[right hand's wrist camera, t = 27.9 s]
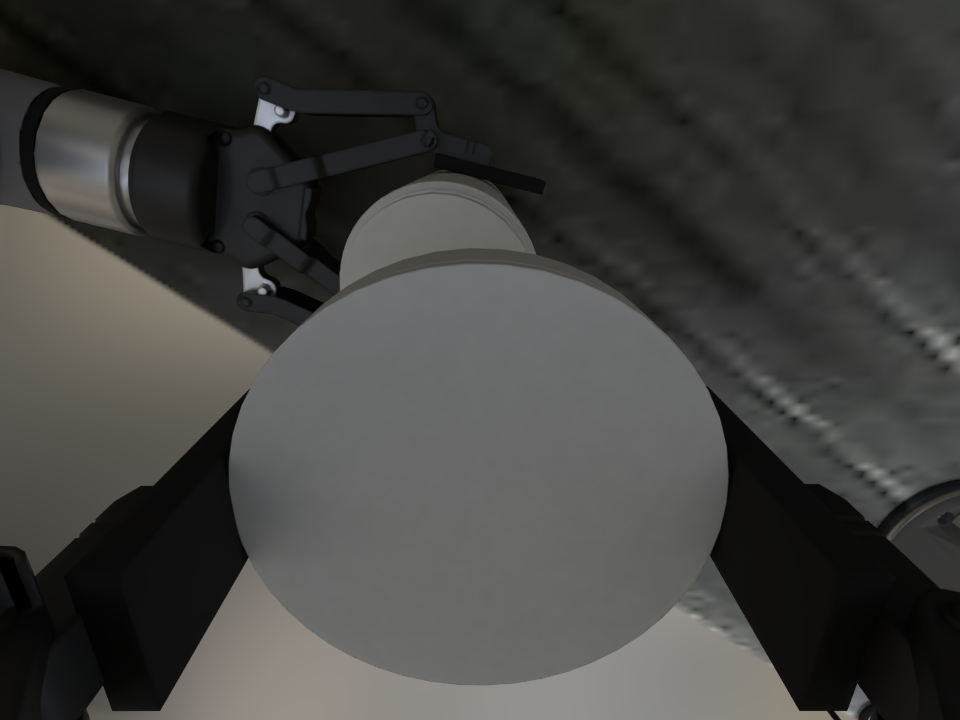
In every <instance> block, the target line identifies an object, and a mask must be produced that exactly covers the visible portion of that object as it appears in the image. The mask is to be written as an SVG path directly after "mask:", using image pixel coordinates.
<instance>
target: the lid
mask: <svg viewBox="0 0 960 720" xmlns="http://www.w3.org/2000/svg"><path fill="white" fill-rule="evenodd" d="M728 479H729V471H728V458H727V446H726V442H725V437H724V433H723V429H722V425H721V421H720V417H719V415H718V412H717V410H716V408H715V405H714V403H713V401H712V398H711V396H710V393H709V391H708V389H707V387H706V386H705V384H704V383H703V381H702V379H701V378H700V376H699V374H698V373H697V371H696V370H695V368H694V366H693V365H692V363H691V362H690V361H689V360H688V359H687V357H686V356H685V355H684V354H683V353H682V352H681V350H680V349H679V348H678V347H677V346H676V345H675V343H674V342H673V341H672V340H671V339H670V338H669V337H668V336H667V335H666V334H665V333H664V332H663V331H662V330H661V329H660V328H659V327H658V326H657V325H656V324H655V323H654V322H652V321H651V320H650V319H649V318H648V317H647V316H646V315H645V314H644V313H643V312H642V311H641V310H639V309H638V308H637V307H636V306H635V305H634V304H632V303H631V302H630V301H629V300H628V299H627V298H626V297H624V296H623V295H622V294H621V293H619V292H618V291H616V290H615V289H613V288H611V287H610V286H608V285H607V284H605V283H604V282H602V281H600V280H599V279H597V278H596V277H594V276H592V275H589V274H587V273H585V272H583V271H581V270H579V269H576V268H574V267H572V266H570V265H568V264H565V263H562V262H559V261H555V260H552V259H549V258H545V257H542V256H539V255H536V254H530V253H524V252H517V251H511V250H505V249H483V248H465V249H456V250H446V251H436V252H432V253H428V254H424V255H420V256H416V257H411V258H407V259H404V260H401V261H398V262H396V263H393V264H391V265H388V266H386V267H383V268H380V269H378V270H375V271H373V272H371V273H370V274H368V275H366V276H364V277H362V278H361V279H359V280H357V281H355V282H353V283H352V284H350V285H348V286H346V287H345V288H344V289H342V290H341V291H340V292H339V293H337V294H336V295H335V296H333V297H332V298H331V299H329V300H328V301H327V302H325V303H324V304H323V305H322V306H321V307H320V308H318V309H317V310H316V311H315V312H314V313H313V314H312V315H311V316H310V317H309V318H308V319H307V320H306V321H305V322H304V323H303V324H301V325H300V326H299V327H298V328H297V329H296V330H295V331H294V332H293V333H292V334H291V335H290V336H289V337H288V338H287V339H286V340H285V341H284V342H283V344H282V345H281V346H280V347H279V348H278V349H277V350H276V351H275V352H274V353H273V354H272V356H271V357H270V359H269V360H268V361H267V363H266V364H265V366H264V367H263V368H262V370H261V371H260V373H259V374H258V375H257V377H256V378H255V380H254V382H253V384H252V386H251V388H250V390H249V392H248V394H247V396H246V398H245V400H244V402H243V404H242V406H241V409H240V413H239V416H238V419H237V422H236V425H235V428H234V431H233V436H232V443H231V449H230V456H229V490H230V495H231V500H232V505H233V511H234V515H235V520H236V525H237V529H238V533H239V536H240V539H241V542H242V545H243V547H244V549H245V551H246V553H247V555H248V557H249V559H250V561H251V563H252V565H253V567H254V568H255V570H256V571H257V573H258V574H259V576H260V577H261V579H262V580H263V582H264V583H265V585H266V586H267V588H268V589H269V591H270V592H271V593H272V594H273V595H274V596H275V597H276V598H277V600H278V601H279V602H280V603H281V604H282V605H283V606H284V608H285V609H286V610H287V611H288V612H290V613H291V614H292V615H293V616H294V617H295V618H296V619H297V620H298V621H300V622H301V623H302V624H303V625H304V626H305V627H306V628H307V629H309V630H310V631H312V632H313V633H315V634H316V635H317V636H319V637H320V638H322V639H323V640H325V641H326V642H327V643H329V644H331V645H332V646H334V647H336V648H338V649H339V650H341V651H343V652H345V653H347V654H348V655H350V656H352V657H354V658H356V659H359V660H361V661H364V662H366V663H368V664H371V665H373V666H375V667H378V668H381V669H384V670H387V671H390V672H393V673H396V674H400V675H403V676H407V677H412V678H416V679H421V680H426V681H431V682H439V683H447V684H456V685H498V684H512V683H519V682H525V681H531V680H537V679H542V678H546V677H550V676H553V675H557V674H561V673H565V672H568V671H571V670H574V669H576V668H579V667H581V666H584V665H587V664H589V663H592V662H594V661H596V660H598V659H600V658H602V657H604V656H607V655H609V654H611V653H612V652H615V651H616V650H618V649H620V648H622V647H623V646H625V645H626V644H628V643H629V642H631V641H633V640H634V639H636V638H637V637H639V636H640V635H642V634H643V633H644V632H645V631H647V630H648V629H649V628H650V627H652V626H653V625H654V624H655V623H657V622H658V621H659V620H660V619H662V618H663V617H664V616H665V615H666V614H667V613H668V611H669V610H670V609H671V608H672V607H673V606H674V605H675V604H676V603H677V602H678V601H679V600H680V599H681V598H682V597H683V595H684V594H685V593H686V591H687V590H688V589H689V588H690V586H691V585H692V584H693V582H694V581H695V580H696V578H697V577H698V575H699V573H700V572H701V570H702V568H703V566H704V565H705V563H706V561H707V559H708V558H709V556H710V554H711V551H712V549H713V546H714V544H715V541H716V539H717V536H718V534H719V531H720V529H721V524H722V520H723V516H724V512H725V507H726V503H727V492H728Z"/></svg>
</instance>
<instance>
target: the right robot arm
mask: <svg viewBox="0 0 960 720" xmlns="http://www.w3.org/2000/svg"><path fill="white" fill-rule="evenodd" d="M706 387H707V389H708V391H709V393H710V396H711V398H712V401H713V403H714V405H715V408H716V410H717V412H718V415H719V417H720V421H721V425H722V429H723V433H724V437H725V442H726V446H727V458H728V471H729V479H728V492H727V503H726V507H725V512H724V516H723V520H722V524H721V529H720V531H719V534H718V536H717V539H716V541H715V544H714V546H713V549H712V551H711V554H710V557H711V558H712V560H713V562H714V563H715V565H716V567H717V569H718V570H719V572H720V574H721V576H722V577H723V579H724V581H725V583H726V584H727V586H728V588H729V589H730V591H731V593H732V595H733V596H734V598H735V600H736V602H737V603H738V605H739V607H740V609H741V610H742V612H743V614H744V615H745V617H746V619H747V621H748V622H749V624H750V626H751V628H752V629H753V631H754V633H755V635H756V636H757V638H758V640H759V641H760V643H761V645H762V647H763V648H764V650H765V652H766V654H767V655H768V657H769V659H770V661H771V662H772V664H773V666H774V667H775V669H776V671H777V673H778V674H779V676H780V678H781V680H782V681H783V683H784V685H785V686H786V688H787V690H788V692H789V693H790V695H791V697H792V699H793V700H794V702H795V704H796V706H797V707H798V709H799V711H827V712H828V713H829V715H830V716H831V717H832V719H833V720H841V719H840V718H839V716H838V715H837V714H836V713H835V711H847V710H848V707H849V705H850V702H851V699H852V696H853V694H854V691H855V688H856V685H857V683H858V685H859V686H860V688H861V689H862V690H863V692H864V693H865V695H866V696H867V697H868V699H869V700H870V702H871V703H872V704H870V705H868V706H867V707H865V708H864V709H863V710H862V712H861V713H860V716H859V720H868V718H869V717H870V716H871V717H870V720H960V481H954V482H950V483H946V484H943V485H940V486H937V487H934V488H932V489H929V490H927V491H925V492H923V493H921V494H919V495H917V496H915V497H913V498H912V499H910V500H909V501H907V502H906V503H904V504H903V505H902V506H900V507H899V508H898V509H897V510H895V511H894V512H893V513H892V514H891V515H890V516H889V517H888V518H887V519H886V520H885V521H884V523H883V524H882V525H881V526H880V528H879V529H878V530H877V529H876V528H875V527H874V526H873V525H872V524H871V523H870V522H869V521H865V519H864V518H865V517H864V516H863V515H861V514H860V513H859V512H858V511H857V510H856V509H855V508H854V507H853V506H852V505H851V504H850V503H849V502H848V501H847V500H845V499H844V498H842V497H840V496H839V495H837V494H835V493H833V492H832V491H830V490H828V489H826V488H825V487H823V486H821V485H820V484H804V483H803V482H802V481H801V480H800V479H799V478H798V477H797V476H796V475H795V474H794V473H793V472H792V471H791V470H790V469H789V468H788V467H787V466H786V465H785V464H784V463H783V462H782V461H781V460H780V459H779V458H778V457H777V456H776V455H775V454H774V453H773V452H772V451H771V450H770V449H769V448H768V447H767V446H766V445H765V444H764V443H763V442H762V441H761V440H760V439H759V438H758V437H757V436H756V435H755V434H754V433H753V432H752V431H751V430H750V429H749V428H748V427H747V426H746V425H745V424H744V423H743V422H742V421H741V420H740V419H739V418H738V417H737V416H736V415H735V414H734V413H733V412H732V411H731V410H730V409H729V408H728V407H727V406H726V405H725V404H724V402H723V401H722V400H721V399H720V398H719V397H718V396H717V395H716V394H715V393H714V392H713V391H712V390H711V389H710V388H709V387H708V386H706ZM249 390H250V389H249ZM249 390H248V391H247V392H246V393H245V394H244V395H243V396H242V397H241V398H240V399H239V400H238V401H237V402H236V403H235V404H234V405H233V406H232V407H231V408H230V409H229V410H228V411H227V412H226V413H225V414H224V415H223V416H222V417H221V418H220V419H219V420H218V421H217V422H216V423H215V424H214V425H213V426H212V427H211V428H210V429H209V430H208V431H207V432H206V434H204V435H203V436H202V437H201V438H200V439H199V440H198V441H197V442H196V443H195V444H194V445H193V446H192V447H191V448H190V450H188V451H187V452H186V454H184V456H183V457H182V458H181V459H180V460H179V461H178V462H177V463H176V464H175V465H174V466H173V467H172V468H171V469H170V470H169V471H168V472H167V473H166V474H165V475H164V476H163V477H162V478H161V479H160V480H159V481H158V482H157V483H156V484H155V485H154V486H140V487H138V488H137V489H135V490H133V491H132V492H130V493H128V494H126V495H125V496H123V497H121V498H119V499H118V500H116V501H114V502H113V503H112V504H111V505H110V506H109V507H108V508H107V509H106V510H105V511H104V512H103V513H102V514H101V515H100V516H99V517H98V518H96V521H95V523H91V524H90V525H89V526H88V527H87V528H86V529H85V530H84V531H83V532H82V533H81V534H80V537H79V538H75V539H74V540H73V541H72V542H71V543H70V544H69V545H68V546H67V547H66V548H65V549H64V550H62V551H61V552H60V553H59V554H58V555H57V556H56V557H55V558H54V559H53V560H52V561H51V562H50V563H49V564H48V565H47V566H46V567H44V569H42V570H41V571H40V572H39V573H38V574H37V575H36V576H34V573H33V571H32V568H31V566H30V563H29V560H28V558H27V555H26V553H25V552H24V551H23V550H21V549H19V548H17V547H15V546H0V720H90V718H89V715H88V712H87V710H86V708H87V707H88V705H89V704H90V703H91V701H92V700H93V698H94V697H95V696H96V694H97V693H98V691H99V690H100V688H101V687H102V686H104V689H105V692H106V695H107V698H108V700H109V703H110V706H111V709H112V711H160V710H161V708H162V707H163V705H164V703H165V702H166V700H167V698H168V696H169V694H170V693H171V691H172V689H173V688H174V686H175V684H176V682H177V681H178V679H179V677H180V676H181V674H182V672H183V670H184V669H185V667H186V665H187V663H188V662H189V660H190V658H191V656H192V655H193V653H194V651H195V650H196V648H197V646H198V644H199V643H200V641H201V639H202V637H203V636H204V634H205V632H206V630H207V629H208V627H209V625H210V624H211V622H212V620H213V618H214V617H215V615H216V613H217V611H218V610H219V608H220V606H221V604H222V603H223V601H224V599H225V598H226V596H227V594H228V592H229V591H230V589H231V587H232V585H233V584H234V582H235V580H236V579H237V577H238V575H239V573H240V571H241V570H242V568H243V566H244V565H245V563H246V561H247V559H248V558H249V557H248V555H247V553H246V551H245V549H244V547H243V545H242V542H241V539H240V536H239V533H238V529H237V525H236V520H235V515H234V511H233V505H232V500H231V495H230V490H229V456H230V449H231V443H232V436H233V431H234V428H235V425H236V422H237V419H238V416H239V413H240V409H241V406H242V404H243V402H244V400H245V398H246V396H247V394H248V392H249Z"/></svg>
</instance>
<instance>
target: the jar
mask: <svg viewBox="0 0 960 720" xmlns="http://www.w3.org/2000/svg"><path fill="white" fill-rule="evenodd" d="M465 248H483V249H505V250H511V251H517V252H524V253H530V254H536V253H535V250H534V247H533V244H532V242H531V240H530V238H529V236H528V234H527V232H526V230H525V229H524V227H523V226H522V224H521V222H520V221H519V219H518V218H517V216H516V215H515V213H514V211H513V210H512V208H511V207H510V205H509V204H508V202H507V200H506V199H505V197H504V196H503V195H502V193H501V192H500V191H499V190H498V188H497V187H496V186H495V185H493V184H492V183H491V182H490V181H487V180H483V179H479V178H475V177H471V176H467V175H463V174H459V173H455V172H452V171H448V170H441V171H437V172H434V173H432V174H429V175H427V176H425V177H422V178H420V179H418V180H416V181H414V182H412V183H409V184H407V185H405V186H403V187H401V188H399V189H396V190H394V191H392V192H391V193H389V194H387V195H386V196H384V197H382V198H381V199H379V200H378V201H377V202H376V203H374V204H373V205H372V206H371V207H370V208H369V209H368V210H367V211H366V212H365V213H364V214H363V215H362V216H361V217H360V219H359V220H358V222H357V223H356V225H355V226H354V227H353V229H352V231H351V233H350V235H349V237H348V239H347V242H346V245H345V248H344V251H343V255H342V260H341V268H340V291H341V290H342V289H344V288H345V287H346V286H348V285H350V284H352V283H353V282H355V281H357V280H359V279H361V278H362V277H364V276H366V275H368V274H370V273H371V272H373V271H375V270H378V269H380V268H383V267H386V266H388V265H391V264H393V263H396V262H398V261H401V260H404V259H407V258H411V257H416V256H420V255H424V254H428V253H432V252H436V251H446V250H456V249H465Z"/></svg>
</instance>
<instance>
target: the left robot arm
mask: <svg viewBox="0 0 960 720" xmlns="http://www.w3.org/2000/svg"><path fill="white" fill-rule="evenodd" d="M254 92H255V94H256V95H257V97H258V98H259V102H258V107H257V111H256V116H255V121H254V125H249V126H246V127H243V128H234V127H230V126H226V125H222V124H218V123H214V122H210V121H206V120H202V119H198V118H194V117H190V116H186V115H182V114H178V113H174V112H162V113H161V112H160V111H158V110H157V109H156V108H154V107H150V106H146V105H143V104H139V103H135V102H131V101H127V100H123V99H119V98H115V97H111V96H107V95H103V94H99V93H96V92H92V91H88V90H84V89H77V88H73V87H67V86H61V85H58V84H54V83H50V82H47V81H43V80H40V79H36V78H33V77H29V76H25V75H22V74H18V73H15V72H11V71H7V70H4V69H0V204H1V205H8V206H13V207H18V208H23V209H28V210H32V211H37V212H41V213H46V214H50V215H54V216H59V217H63V218H67V219H71V220H76V221H80V222H84V223H88V224H92V225H96V226H101V227H105V228H109V229H113V230H117V231H121V232H125V233H129V234H134V235H138V236H146V235H149V236H151V237H152V238H154V239H157V240H160V241H165V242H169V243H173V244H178V245H182V246H186V247H191V248H195V249H199V250H203V251H208V252H212V253H217V254H222V255H225V256H227V257H229V258H230V259H232V260H233V261H234V262H236V263H237V264H238V265H240V266H241V267H243V286H244V292H243V293H242V294H240V295H239V296H238V297H237V304H238V306H239V307H240V308H241V309H242V310H244V311H250V312H259V313H268V314H274V315H277V316H279V317H281V318H283V319H286V320H288V321H290V322H292V323H295V324H297V325H299V326H300V325H301V324H303V323H304V322H305V321H306V320H307V319H308V318H309V317H310V316H311V315H312V314H313V313H314V312H315V311H316V310H317V309H318V308H320V307H321V306H322V305H323V304H324V303H322V302H320V301H318V300H316V299H314V298H312V297H309V296H307V295H305V294H303V293H301V292H298V291H296V290H293V289H290V288H287V287H281V285H280V282H279V280H278V279H276V278H275V277H272V276H270V275H268V274H267V273H266V272H265V270H264V265H266V264H268V263H271V262H273V261H275V260H277V259H280V258H281V259H282V260H283V261H285V262H286V263H287V264H289V265H290V266H291V267H293V268H294V269H295V270H297V271H298V272H301V273H304V274H306V275H308V276H309V277H311V278H312V279H313V280H315V281H316V282H317V283H319V284H320V285H321V286H323V287H324V288H325V289H326V290H328V291H329V292H330V293H332V294H333V295H334V296H335V295H336V294H337V293H339V292H340V268H341V263H340V262H339V261H338V260H336V259H335V258H334V257H333V256H331V255H330V254H329V253H328V252H327V251H326V249H325V248H324V247H323V246H322V245H321V244H320V243H318V242H317V241H316V240H314V239H313V238H312V237H314V236H315V232H316V217H315V209H316V207H317V204H318V202H319V199H320V192H321V187H319V186H318V181H317V180H321V179H325V178H329V177H333V176H336V175H340V174H344V173H348V172H352V171H356V170H360V169H364V168H368V167H372V166H376V165H380V164H384V163H388V162H392V161H396V160H400V159H404V158H408V157H412V156H416V155H420V154H424V153H428V152H431V153H435V154H436V158H435V163H434V167H436V168H440V169H444V170H448V171H452V172H455V173H459V174H463V175H467V176H471V177H475V178H479V179H483V180H487V181H491V182H495V183H498V184H502V185H506V186H510V187H514V188H518V189H522V190H526V191H530V192H534V193H537V194H541V195H542V194H543V190H544V186H545V183H546V182H545V181H543V180H541V179H537V178H533V177H529V176H525V175H521V174H518V173H514V172H510V171H506V170H502V169H498V168H494V167H491V166H490V162H491V157H492V153H493V149H492V148H490V147H489V146H488V145H486V144H484V143H480V142H476V141H473V140H469V139H465V138H461V137H457V136H454V135H450V134H446V133H444V132H442V131H441V129H440V128H439V126H438V122H437V115H436V105H435V102H434V100H433V99H432V97H431V96H430V95H429V94H428V93H426V92H423V91H384V90H319V89H297V88H294V87H292V86H289V85H287V84H284V83H282V82H279V81H276V80H274V79H271V78H268V77H264V76H261V77H258V78H257V79H256V80H255V82H254ZM300 113H302V114H307V115H312V116H344V117H412V118H414V121H415V128H416V131H414V132H410V133H406V134H402V135H398V136H394V137H390V138H386V139H382V140H378V141H374V142H371V143H367V144H363V145H359V146H355V147H351V148H347V149H343V150H339V151H335V152H331V153H327V154H323V155H319V156H314V157H309V158H305V159H301V158H300V157H299V156H298V155H297V154H296V153H295V152H294V151H293V150H292V149H291V148H290V146H289V145H288V144H287V143H286V142H285V141H284V140H283V139H282V138H281V137H280V136H279V134H278V133H277V132H276V130H277V128H278V127H279V126H280V125H281V124H284V123H286V124H293V123H295V122H296V121H297V120H298V118H299V115H300Z"/></svg>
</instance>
